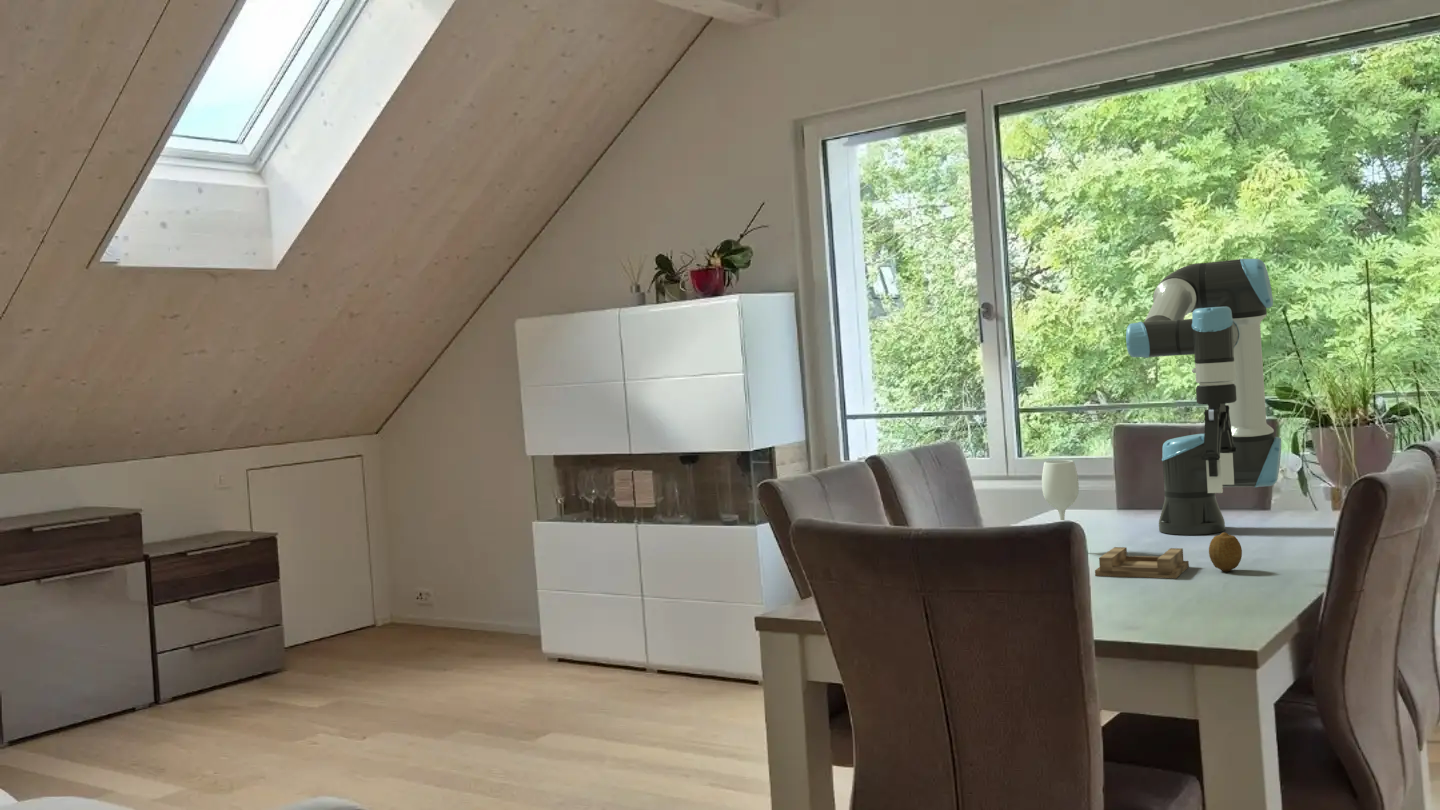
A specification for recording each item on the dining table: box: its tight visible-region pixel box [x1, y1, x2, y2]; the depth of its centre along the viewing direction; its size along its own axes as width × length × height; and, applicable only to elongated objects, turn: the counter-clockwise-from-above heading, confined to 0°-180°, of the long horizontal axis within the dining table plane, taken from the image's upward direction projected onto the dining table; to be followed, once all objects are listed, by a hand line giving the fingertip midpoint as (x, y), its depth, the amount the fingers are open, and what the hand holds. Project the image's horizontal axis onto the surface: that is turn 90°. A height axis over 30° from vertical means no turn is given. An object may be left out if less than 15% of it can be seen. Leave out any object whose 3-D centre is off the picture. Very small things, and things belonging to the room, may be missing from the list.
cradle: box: [1094, 546, 1190, 579], centre depth 259 cm, size 13×16×4 cm
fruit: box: [1208, 531, 1243, 573], centre depth 253 cm, size 6×6×8 cm
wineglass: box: [1041, 459, 1080, 521], centre depth 288 cm, size 9×9×21 cm
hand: (1221, 488), depth 252 cm, fingers open, 13 cm apart
